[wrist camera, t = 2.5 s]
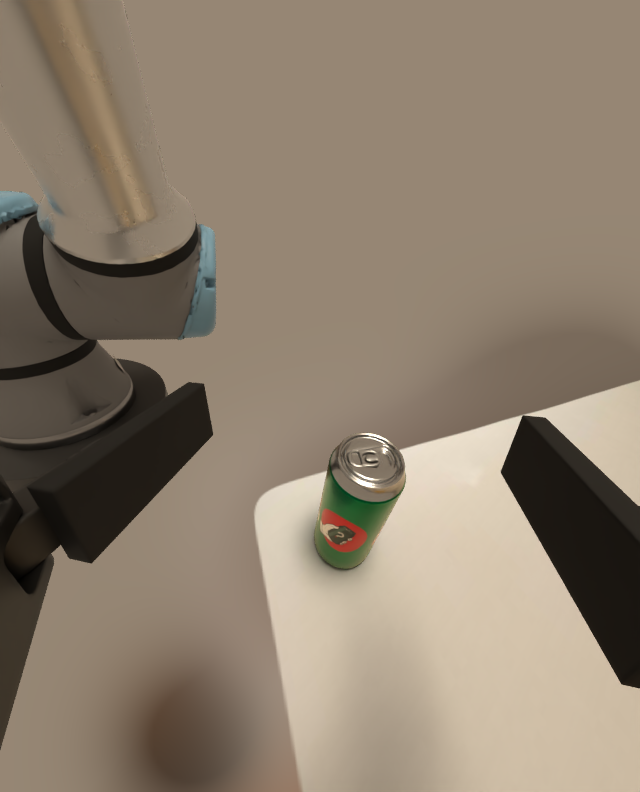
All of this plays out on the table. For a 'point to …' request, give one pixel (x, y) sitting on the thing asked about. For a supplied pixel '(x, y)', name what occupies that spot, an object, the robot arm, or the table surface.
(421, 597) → the table surface
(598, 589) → the robot arm
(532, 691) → the table surface
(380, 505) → the soda can
